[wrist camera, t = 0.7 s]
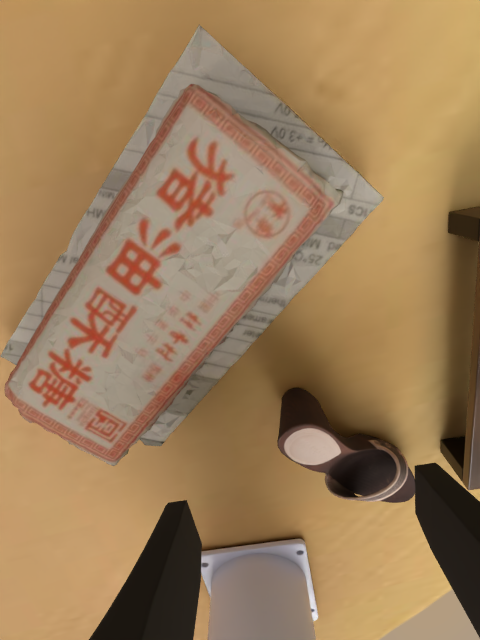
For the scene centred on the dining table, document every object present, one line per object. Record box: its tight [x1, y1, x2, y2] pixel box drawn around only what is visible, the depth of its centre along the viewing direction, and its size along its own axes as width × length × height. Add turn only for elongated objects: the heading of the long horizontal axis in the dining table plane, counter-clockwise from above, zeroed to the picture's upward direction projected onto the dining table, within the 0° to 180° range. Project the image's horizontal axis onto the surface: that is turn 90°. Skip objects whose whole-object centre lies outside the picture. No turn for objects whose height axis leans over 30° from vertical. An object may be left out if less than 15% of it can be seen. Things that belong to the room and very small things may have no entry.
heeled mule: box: [278, 388, 415, 503], centre depth 21 cm, size 4×11×4 cm, turn 47°
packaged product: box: [0, 24, 384, 466], centre depth 16 cm, size 18×5×10 cm
